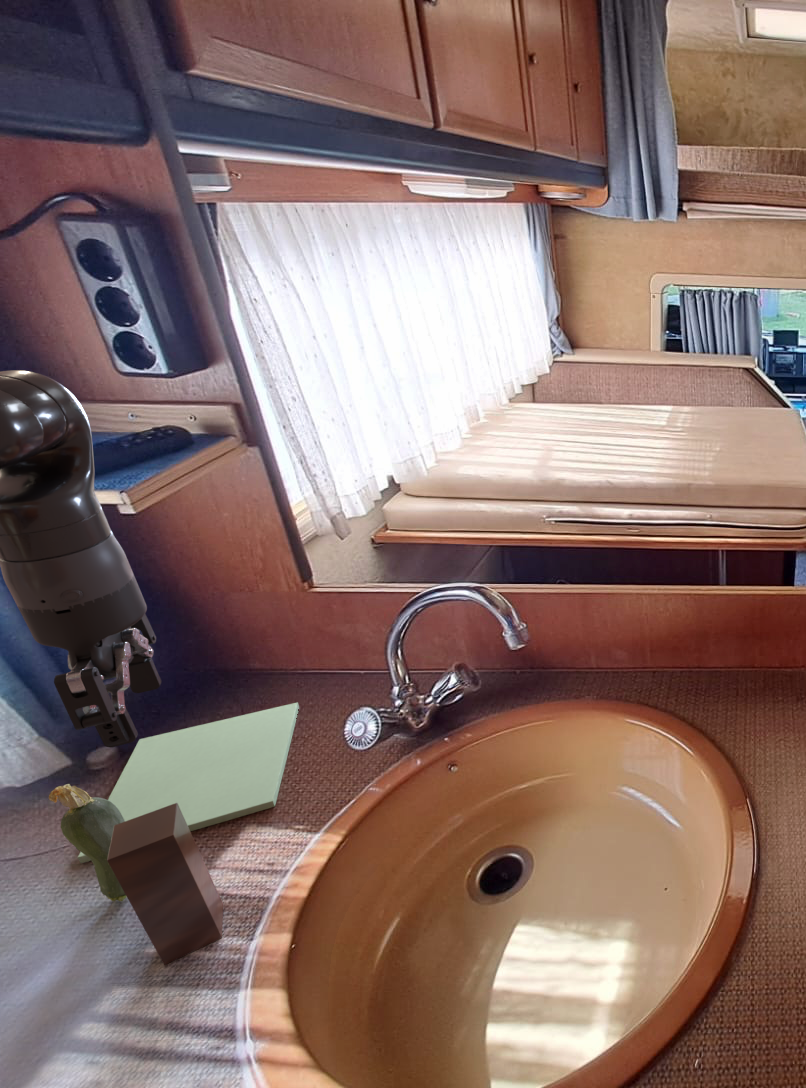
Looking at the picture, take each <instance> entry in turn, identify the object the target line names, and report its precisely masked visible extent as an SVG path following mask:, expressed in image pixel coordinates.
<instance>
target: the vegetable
mask: <svg viewBox="0 0 806 1088" xmlns="http://www.w3.org/2000/svg"><path fill="white" fill-rule="evenodd" d="M48 800H49V801H50V802H53V803H54V804H56V803H57V802H58V801H59V802H60V803H61V805H62V806H63V807H66V808H69V809H68V810H66V811H65V813H64V814H63V815H62V818H61V819H60V830H61V833H62V835H63V836H64V837H65V838H66V840H67V841H68V842H69V843H71V845H72V846H73V847H74V848H76V850H77V851H79V852H82V853H83V854H85V855H86V856H88V857H89V858H90V859H91V861H90V862H91V863H92V864H93V867H94V872H95V875H96V879H97V881H98V885H99V889H100V892H101V894H102V895H104V896H105V897H106V898H107V899H108V900H110V901H111V902H115V901H118V902H123V901H124V900H125V899H126V898H127V896H126V894H125V892H124V891H123V889H122V887H121V885H120V883H119V881H118V880H117V878H116V876H115V874H114V872H113V870H112V869H111V867H110V865H109V863H108V861H107V858H108V853H109V849H110V844H111V839H112V834H113V829H114V825H117V824H120V823H122V822H125V820H124V818H123V816H122V815H121V813H120V811H119V809H118V808H117V807H116V806H115V805H114V804H113V803H112V802H110V801H108V799H105V798H103V797H98V796H97V797H91V796H90V795H89V793H88V791H85V790H83V789H82V788H81V787H77V786H76V785H72V786H71V784H70V783H67V784H64V785H59V786H56V787H54V789H53V790H52V791H50V792H49V795H48Z"/></svg>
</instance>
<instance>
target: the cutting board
mask: <svg viewBox="0 0 806 1088" xmlns="http://www.w3.org/2000/svg"><path fill="white" fill-rule="evenodd" d="M298 709H299V710H300V705H299V702H298V701H297V702H294V703H289V704H285V705H280V706H276V707H271V708H268V709H263V710H259V711H255V712H254V711H253V712H251V713H246V714H241V715H238V716H233V717H229V718H226V719H221V720H216V721H212V722H208V723H204V724H199V725H194V726H190V727H187V728H182V729H178V730H174V731H170V732H164V733H159V734H157V735H153V736H148V737H144V738H139V739H138V741H137V743H136V746H135V747H134V749H133V751H132V753H131V755H130V756H129V759H128V760H127V762H126V765H125V766H124V768H123V770H122V772H121V773H120V776H119V778H118V779H117V782H116V783H115V786H114V787H113V789H112V791H111V793H110V795H109V796H108V798H107V800H108V801H110V802H112V803H113V804H114V805H115V806H116V807H117V808H118V809H119V811H120V813H121V815H122V816H123V818H124V820H125V821H128V820H131V819H133V818H136V817H139V816H142V815H144V814H147V813H150V812H153V811H155V810H158V809H161V808H164V807H167V806H169V805H172V804H175V803H178V805H179V808H180V810H181V812H182V814H183V816H184V819H185V821H186V823H187V825H188V828H189V830H190V832H194V831H197V830H200V829H203V828H207V827H210V826H213V825H217V824H221V823H225V822H227V821H231V820H234V819H237V818H242V817H245V816H247V815H251V814H255V813H258V812H261V811H264V810H269V809H272V808H275V807H276V804H277V801H278V796H279V793H280V788H281V783H282V781H283V780H282V779H283V776H284V772H285V767H286V765H287V759H288V755H289V751H290V748H291V743H292V740H293V739H292V738H293V735H294V731H295V728H296V723H297V719H298V715H297V714H299V711H298ZM296 718H297V719H296ZM77 860H78V861H79V863H80V864H85V863H88V862H92V861H91V859H90V858H89V857H88V856H86V855H85V854H83V853H82V852H81V851H79V854H78V856H77Z"/></svg>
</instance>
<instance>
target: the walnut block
mask: <svg viewBox="0 0 806 1088" xmlns="http://www.w3.org/2000/svg"><path fill="white" fill-rule="evenodd" d="M107 861H108V863H109V865H110V867H111V869H112V870H113V872H114V874H115V876H116V878H117V880H118V881H119V883H120V885H121V887H122V889H123V891H124V892H125V894H126V896H127V897H126V898H127V900H128V902H129V904H130V905H131V908H132V909H133V911H134V912H135V915H136V917H137V918H138V920H139V922H140V924H141V926H142V927H143V929H144V931H145V933H146V935H147V937H148V938H149V940H150V942H151V944H152V945H153V947H154V949H155V950H156V953H157V955H158V956H159V959H160V960H161V962H162V965H164V966H166V965H168V964H170V963H172V962H175V961H176V960H178V959H181V958H183V957H185V956H187V955H189V954H192V953H193V952H196V951H198V950H200V949H201V948H204V947H207V946H208V945H211V944H212V943H214V942H216V941H219V940H221V939H222V938H223V922H224V921H223V920H224V903H223V900H222V897H221V896H220V893H219V891H218V889H217V886H216V885H215V883H214V880H213V878H212V877H211V874H210V872H209V870H208V867H207V865H206V863H205V861H204V859H203V855H202V853H201V851H200V850H199V847H198V845H197V843H196V841H195V839H194V836H193V834H192V831H190V830H189V828H188V825H187V823H186V821H185V819H184V816H183V814H182V812H181V810H180V808H179V805H178V803H175V804H172V805H169V806H167V807H164V808H161V809H158V810H155V811H153V812H150V813H147V814H144V815H142V816H139V817H136V818H133V819H131V820H128V821H125V822H122V823H120V824H117V825H114V829H113V834H112V839H111V844H110V849H109V853H108V858H107Z"/></svg>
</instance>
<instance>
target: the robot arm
mask: <svg viewBox="0 0 806 1088" xmlns="http://www.w3.org/2000/svg"><path fill="white" fill-rule="evenodd" d="M91 428H92V427H91V425H90V421H89V418H88V415H87V413H86V411H85V409H84V407H83V406H82V404H81V402H80V401H79V400H78V399H77V397H76V396H75V395H74V394H73V392H71V391H70V390H69V389H68V388H66V387H65V386H64V385H63V384H61V383H60V382H58V381H56V380H55V379H53V378H52V377H49V376H46V375H45V374H41V373H38V372H33V371H28V370H20V369H19V370H18V369H17V370H3V371H1V370H0V571H1V575H2V578H3V580H4V581H3V582H4V584H5V585H6V587H7V589H8V591H9V593H10V596H12V598H13V600H14V602H15V604H16V607H17V608H18V610H19V612H20V614H21V616H22V619H23V620H24V622H25V624H26V626H27V628H28V630H29V632H30V634H31V636H32V638H33V639H34V640H35V642H37V644H40V645H42V646H46V647H50V648H51V647H52V648H59V649H64V650H66V651H67V652H68V653H67V666H68V669H69V670H70V671H69V672H66V673H61V674H56V675H55V677H54V678H53V684H54V686H55V688H56V690H57V693H58V695H59V697H60V700H61V701H62V704H63V707H64V708H65V710H66V712H67V715H68V717H69V719H70V721H71V723H72V725H73V727H74V729H75V730H76V731H80V730H84V729H86V728H90V727H94V728H95V730H96V731H97V734H98V735H99V737H100V739H101V742H102V744H103V746H104V747H106V748H116V747H121V746H123V745H127V744H131V743H133V742H135V741H136V739H137V737H138V735H139V733H138V730H137V729H136V726H135V724H134V722H133V719H132V717H131V716H130V713H129V711H128V709H127V708H126V707H127V706H126V704H125V703H126V701H125V691H126V690H127V689H128V688H130V690H131V692H132V693H134V694H141V693H146V692H151V691H155V690H158V689H159V688H160V686H161V684H162V678H161V677H160V674H159V672H158V670H157V668H156V665H155V662H154V660H153V656H154V654H155V653H154V649H153V647H152V646H151V645H153V644H156V642H157V636H156V634H155V632H154V630H153V627H152V625H151V623H150V621H149V618H148V617H147V610H148V605H147V603H146V600H145V598H144V596H143V594H142V591H141V589H140V586H139V584H138V582H137V579H136V576H135V574H134V572H133V569H132V567H131V564H130V562H129V559H128V558H127V555H126V552H125V550H124V549H123V547H122V545H121V544H120V542H119V541H118V539H117V538H116V537H115V535H114V533H113V531H112V529H111V527H110V524H109V521H108V519H107V517H106V515H105V512H104V510H103V508H102V507H103V506H102V505H101V503H100V501H99V499H98V497H97V494H96V492H95V460H94V447H93V436H92V429H91ZM140 632H141V633H140ZM114 678H115V680H114V681H113V682H111V683H108V684H105V682H104V681H106V680H110V679H114ZM109 693H110V694H109ZM110 695H111V697H110Z"/></svg>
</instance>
